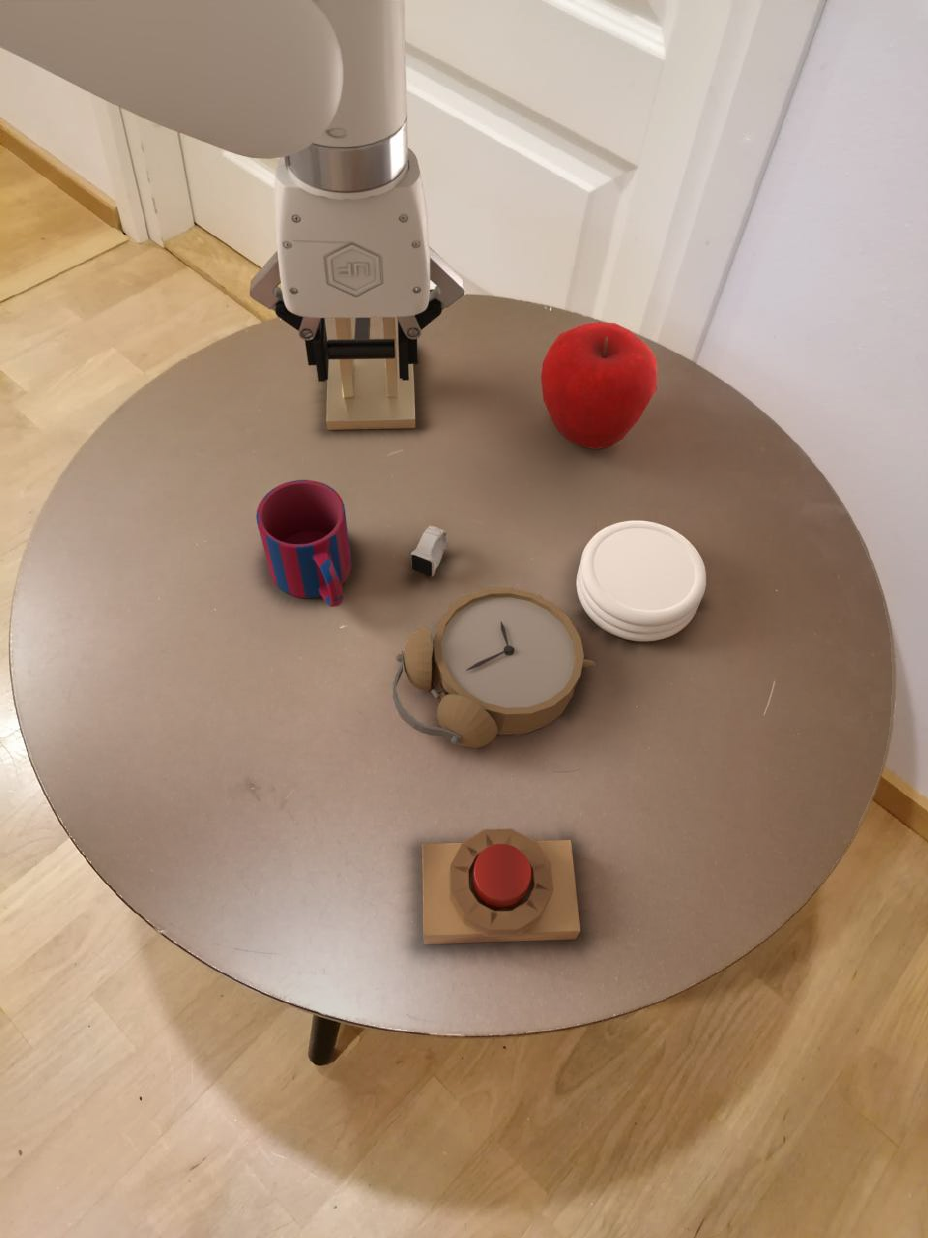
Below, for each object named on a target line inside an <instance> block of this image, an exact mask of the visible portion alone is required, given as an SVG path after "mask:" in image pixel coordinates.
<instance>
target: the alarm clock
mask: <svg viewBox="0 0 928 1238" xmlns="http://www.w3.org/2000/svg"><path fill="white" fill-rule="evenodd" d="M430 632H431V631H430V628H429V627H422V628H418V629H417V630H415V631H414V632H412V633H411V634H410V635H409V637H408V639H407V641H406V642H405V646H404V649H403V650H401V653H397V654H396V656H395V661H397V662H398V663H401V664H400V666H399V668H398V670H397V672H396V673H395V677H394V680H393V683H392V700H393V704H394V706H395V709H396V711H397V713H398V715H399V716H400V718H401V719H402V720H403V721H404V722H405V723H406V724H407V725H408V726H410V727H411V728H412V729H413V730H415V731H417V732H418V733H421V734H424V735H428V736H433V737H440V738H443V739H448V740H450V741H451V744H452V745H457V744H458V745H460V746H462V747H466V748H481V747H484V746H487V745H488V744H490V743H491V742H492V741H494V739H495V738H496V736H497V735H521V734H523V735H524V734H528V733H530V732H532V731H536V730H538V729H542V728H544V727H547V726H548V725H549V724H551V723H552V722H553V721H554V720H555V719H557V718H558V717H559V716H561V715H562V714H563V713H564V711H565V709H566V707H567V706H568V705H569V703H570V701H571V700H572V698H573V696H574V693H575V689H576V686H577V684H578V681H579V680H580V678H581V675H582V670H583V668H595V665H596V663H595V661H593V660H591V659H588V658H587V659H586V658H584V657H585V655H584V649H583V645H582V639H581V635H580V634H579V632H578V630H577V628H576V627H575V625H574V624H573V622H572V620H571V618H570V617H569V616H568V615H567V614H565V613H564V612H563V611H562V610H561V609H560V608H559V607H558V606H557V605H556V604H555V603H554V602H551V601H550V600H548V599H546V598H544V597H543V596H542V595H541V594H536V593H535V592H531V591H526V590H522V589H518V588H514V587H489V588H485V589H481V590H479V591H475V592H471V593H468V594H466V595H465V596H463V597H462V598H461V599H459V600H458V601H456V602H454V603H453V604H451V605H450V606H449V608H448V609H447V610H446V612H445V613H444V614H443V615H442V617H441V618H440V619H439V620H438V623H437V626H436V630H435V633H434V637H433V641H432V639H431V633H430ZM432 646H433V647H432ZM404 672H405V676H406V677H407V680H408V682H409V683H410V684H411V685H412V687H415V689H418V690H420V691H424V692H430V693H431V694H432V696H433V697H434V698H435V700H438V699H440V702H439V704H438V706H437V708H436V709H437V710H436V716H437V722H438V725H439V727H438V726H433V725H428V724H424V723H423V722H421V721H419V720H417V719H416V718H415V717H414V716H412V715H411V713H409V712H408V710H406V708H405V707H404V706H403V703H402V702H401V699H400V697H399V692H398V686H399V685H398V684H399V682H400V679H401V677H402V675H403V673H404ZM432 684H433V686H434V688H433V689H431V688H432Z"/></svg>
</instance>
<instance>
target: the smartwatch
mask: <svg viewBox="0 0 928 1238" xmlns="http://www.w3.org/2000/svg"><path fill="white" fill-rule="evenodd" d="M448 540H449V538H448V533H447V531H446V530H444V529H441V528H439V527H437V526H434V525H427V528H426V529H425V530H424V532H423V533H422V536H421V537H420V540H419V542H418V544H417V546H416V548H415V549H414V550H412V551H411V553H410V568H411V570H412V571H414V572H417V573H419V574H422V575H424V576H427V577H431V578H432V577H434V576H435V573H436V570H437V568H438V566H439V565H440V563H441V561H442V558H443V554H444V552H445V549H446V548H447V547H448V543H449V542H448Z"/></svg>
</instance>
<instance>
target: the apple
mask: <svg viewBox="0 0 928 1238" xmlns="http://www.w3.org/2000/svg"><path fill="white" fill-rule="evenodd" d="M657 362H658V361H657V357H656V355H655V354H654V352H653V351H652V350H651V348H650V347H649V345H648V344H646V342H644V341H643V340H642V339H640V338H639V337H638V336H637V335H636V334H635V333H633V332H632V331H631V330H630V329H628V328H626V327H624V326H622V325H620V324H617V323H615V322H605V321H603V322H602V321H599V322H589V323H584V324H583V323H582V324H581V325H578V326H574V327H572V328H570V329H568V330H566V331H563V332H561V333H559V334H558V335H557V337H556V338H555V340H554V341H553V343H552V344H551V345H550V347H549V349H548V351H547V353H546V355H545V357H544V358H543V360H542V366H541V375H540V381H541V391H542V401H543V403H544V405H545V408H546V411H547V413H548V415H549V418H550V419H551V422H552V424H553V425H554V427H555V428H556V430H557V432H558V433H560V435H562V436H563V437H564V438H565V439H566V440H567V441H569V442H571V443H573V444H575V445H578V446H579V447H584V448H590V449H596V450H598V449H604V448H608V447H609V448H610V447H612V446H614V445H615V444H617V443H619V442H620V441H622V440H624V438H625V437H626V436H627V435H628V434H629V432H630V431H631V430H632V429H633V428H634V426H635V425H636V424H637V423H638V422H639V420H640V418H641V417H642V415H643V413H644V411H645V410H646V408H647V406H648V405H649V403H650V401H651V400H652V398H653V396H654V395H655V393H656V391H657V389H658V364H657Z"/></svg>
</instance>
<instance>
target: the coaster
mask: <svg viewBox="0 0 928 1238" xmlns="http://www.w3.org/2000/svg"><path fill="white" fill-rule="evenodd" d="M579 562H580V563H579V566H578V571H577V574H576V582H575V584H576V592H577V597H578V600H579V602H580V604H581V607H582V608H583V610H584V612H585V613H586V615H587V616H588V617H589V618H590V620H592V621H593V623H595V625H597V626H598V627H599V628H601V629H602V630H603V631H605V632H607V633H608V634H611V635H613V636H615V637H617V638H621V639H623V640H628V641H633V642H655V641H656V642H657V641H660V640H664V639H667V638H669V637H670V638H671V636H674V635H676V634H678V633H679V632H680V631H682V630H684V628H686V627H687V626H688V625H689V624H690V622H691V621H692V620H693V619H694V617H695V615H696V613H697V611H698V608H699V606H700V604H701V601H702V599H703V597H704V594H705V592H706V588H707V587H706V586H707V572H706V567H705V563H704V561H703V559H702V557H701V555H700V553H699V552H698V550H697V548H696V547H695V546H694V545H693V544H692V542H691V541H689V540H688V538H687V537H685V536H684V535H682V534H681V533H680V532H678V531H676V530H674V529H672V528H671V527H669V526H667V525H664V524H660V523H658V522H654V521H648V520H625V521H619V522H616V523H612V524H610V525H608V526H606V527H604V528H603V529H600V530H599V531H598V532H596V533H595V534H593V536H592V538H590V540H589V541H588V542H587V544H586V545H585V546H584V549H583V551H582V553H581V557H580V561H579Z"/></svg>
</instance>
